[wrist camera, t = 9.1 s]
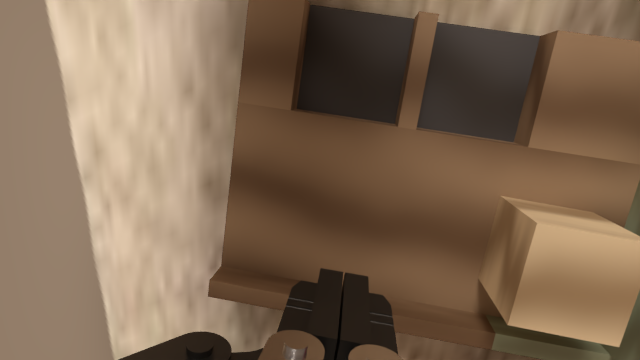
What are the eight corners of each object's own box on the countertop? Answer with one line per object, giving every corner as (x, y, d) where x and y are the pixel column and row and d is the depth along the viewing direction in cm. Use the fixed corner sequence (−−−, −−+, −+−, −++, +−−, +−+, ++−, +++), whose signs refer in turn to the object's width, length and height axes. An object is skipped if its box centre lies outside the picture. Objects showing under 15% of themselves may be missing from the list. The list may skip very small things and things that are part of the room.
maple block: (500, 195, 23) (536, 222, 18) (593, 212, 23) (655, 244, 18) (478, 278, 24) (507, 325, 19) (566, 295, 24) (619, 347, 19)
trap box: (261, -2, 25) (221, -38, 18) (666, 54, 23) (794, 38, 16) (232, 264, 28) (190, 319, 21) (581, 328, 27) (656, 409, 20)
